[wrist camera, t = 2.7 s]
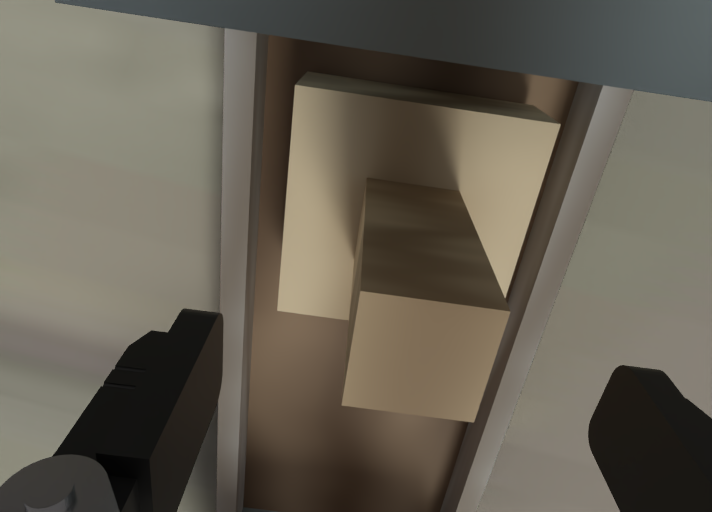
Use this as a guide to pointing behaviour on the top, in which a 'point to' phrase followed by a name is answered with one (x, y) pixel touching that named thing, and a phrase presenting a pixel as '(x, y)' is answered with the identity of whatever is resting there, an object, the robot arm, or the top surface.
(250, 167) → the rail track
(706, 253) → the top surface
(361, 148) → the carriage
